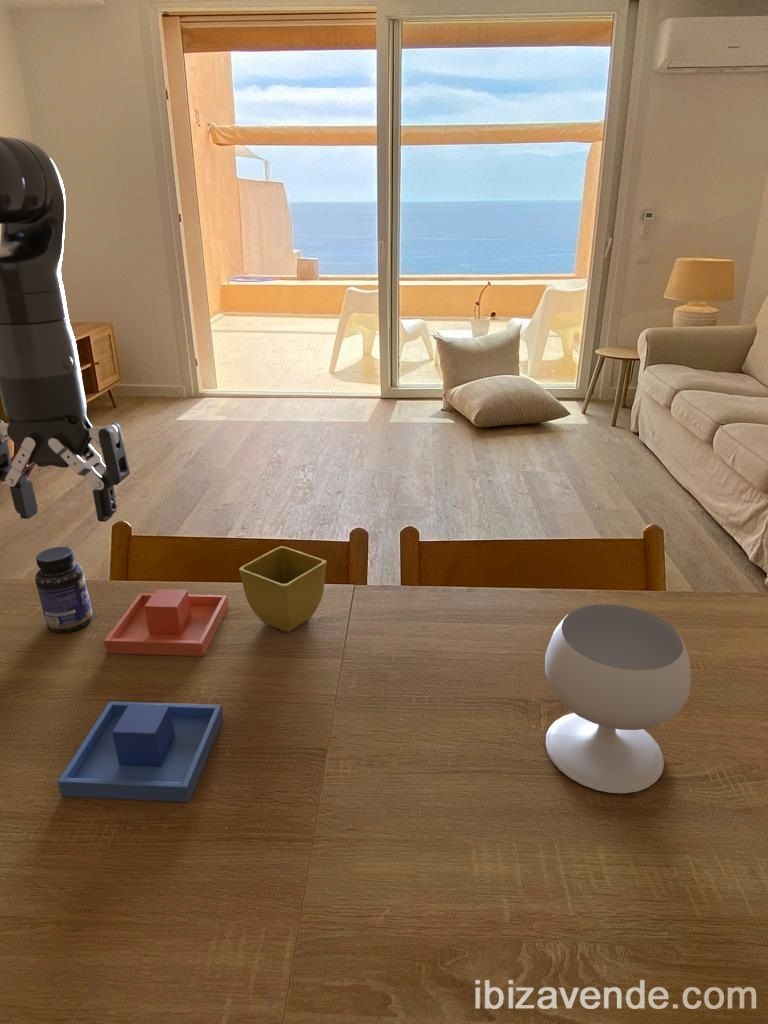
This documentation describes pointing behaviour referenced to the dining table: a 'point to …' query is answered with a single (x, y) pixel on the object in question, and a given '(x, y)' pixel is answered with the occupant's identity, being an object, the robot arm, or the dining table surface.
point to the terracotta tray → (192, 642)
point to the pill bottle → (62, 590)
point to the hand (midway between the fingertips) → (67, 517)
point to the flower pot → (284, 586)
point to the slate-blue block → (144, 735)
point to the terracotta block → (168, 612)
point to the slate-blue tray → (173, 781)
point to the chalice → (614, 694)
